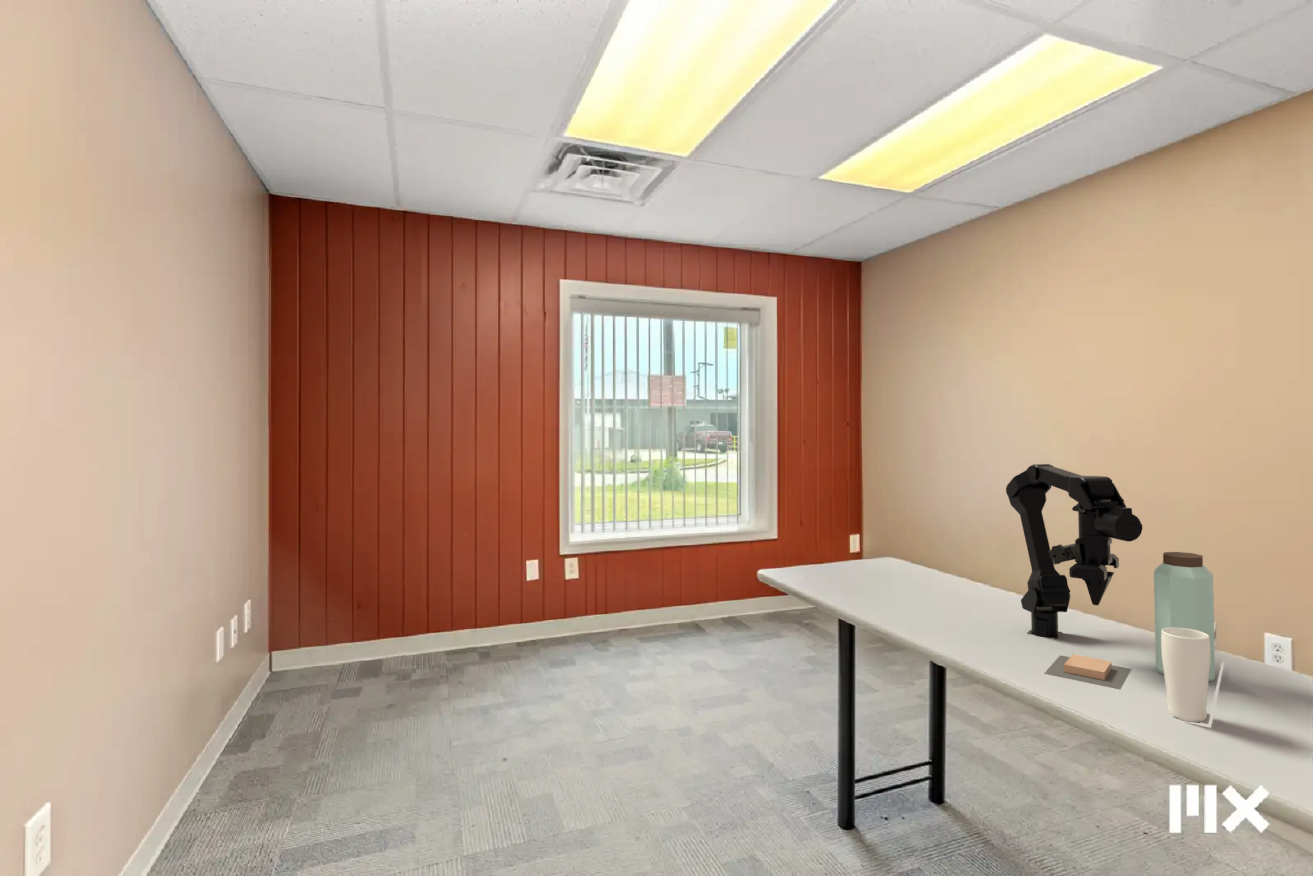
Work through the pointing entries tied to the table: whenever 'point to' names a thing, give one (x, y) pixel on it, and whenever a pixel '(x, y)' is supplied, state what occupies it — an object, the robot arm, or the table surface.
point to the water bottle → (1183, 599)
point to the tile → (1088, 666)
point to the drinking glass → (1186, 672)
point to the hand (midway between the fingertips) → (1095, 604)
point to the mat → (1112, 679)
